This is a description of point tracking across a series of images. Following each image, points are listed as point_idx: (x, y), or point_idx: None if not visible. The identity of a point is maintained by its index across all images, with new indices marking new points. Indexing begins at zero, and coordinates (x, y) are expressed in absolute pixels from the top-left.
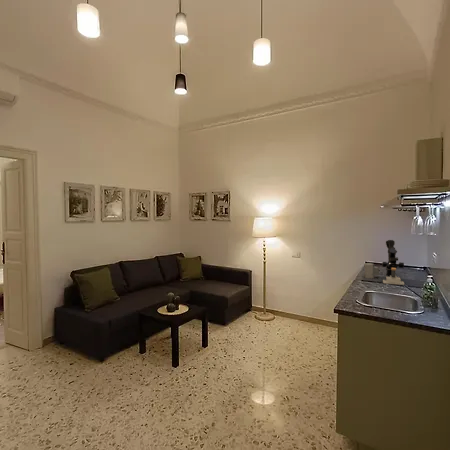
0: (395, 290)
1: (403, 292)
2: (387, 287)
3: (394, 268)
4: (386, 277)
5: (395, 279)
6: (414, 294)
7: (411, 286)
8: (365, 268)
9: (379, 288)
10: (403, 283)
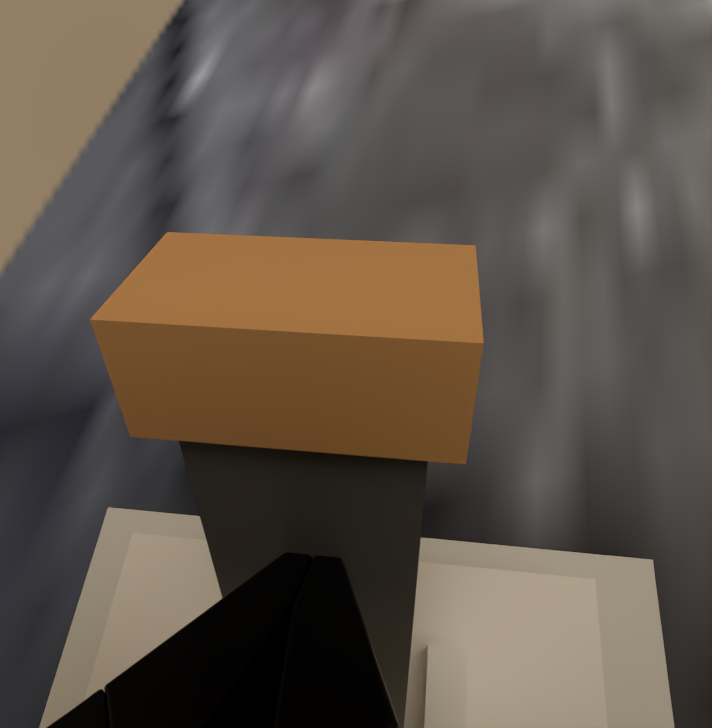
0: (419, 98)
1: (324, 45)
2: (537, 223)
3: (244, 273)
4: (605, 718)
5: None
6: (209, 11)
7: (20, 415)
8: None
9: (676, 133)
10: (116, 536)
